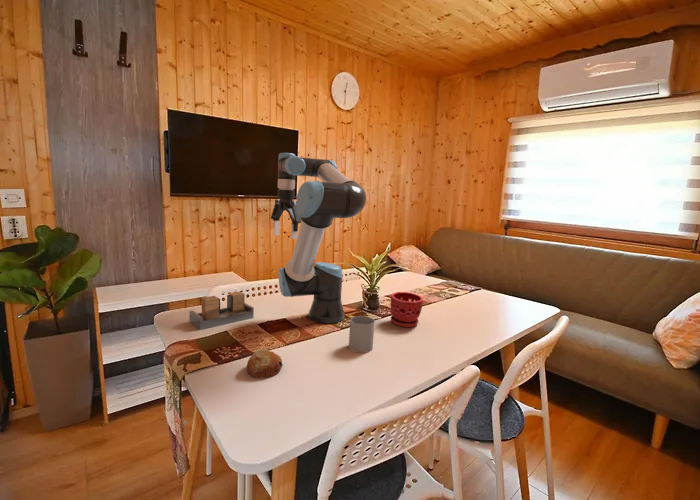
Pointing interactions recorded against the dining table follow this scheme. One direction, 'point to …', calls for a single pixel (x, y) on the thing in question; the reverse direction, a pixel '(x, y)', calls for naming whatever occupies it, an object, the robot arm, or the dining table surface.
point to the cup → (361, 334)
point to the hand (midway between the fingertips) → (285, 236)
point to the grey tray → (225, 313)
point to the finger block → (210, 307)
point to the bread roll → (264, 364)
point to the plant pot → (405, 308)
